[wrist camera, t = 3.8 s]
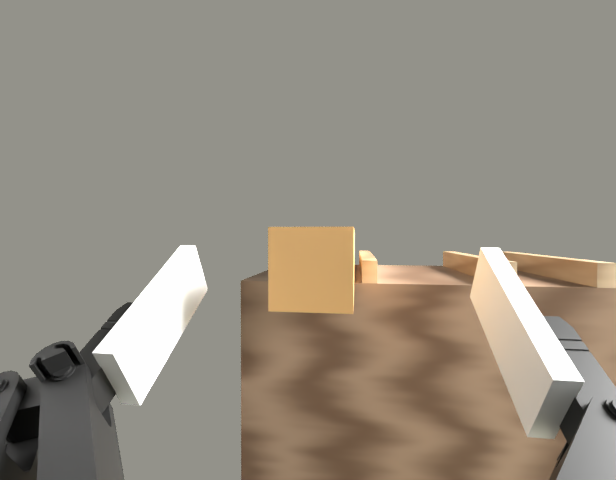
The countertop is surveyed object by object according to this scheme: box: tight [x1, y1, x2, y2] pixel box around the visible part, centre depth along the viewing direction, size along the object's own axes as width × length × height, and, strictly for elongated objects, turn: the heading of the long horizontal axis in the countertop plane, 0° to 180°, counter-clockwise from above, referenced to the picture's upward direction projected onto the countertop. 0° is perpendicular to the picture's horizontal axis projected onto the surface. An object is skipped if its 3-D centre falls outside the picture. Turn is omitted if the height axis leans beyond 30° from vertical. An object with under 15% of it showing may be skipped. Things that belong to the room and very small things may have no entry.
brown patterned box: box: [241, 251, 616, 480], centre depth 29 cm, size 26×14×32 cm, turn 82°
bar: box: [268, 227, 355, 314], centre depth 26 cm, size 4×24×4 cm, turn 172°
